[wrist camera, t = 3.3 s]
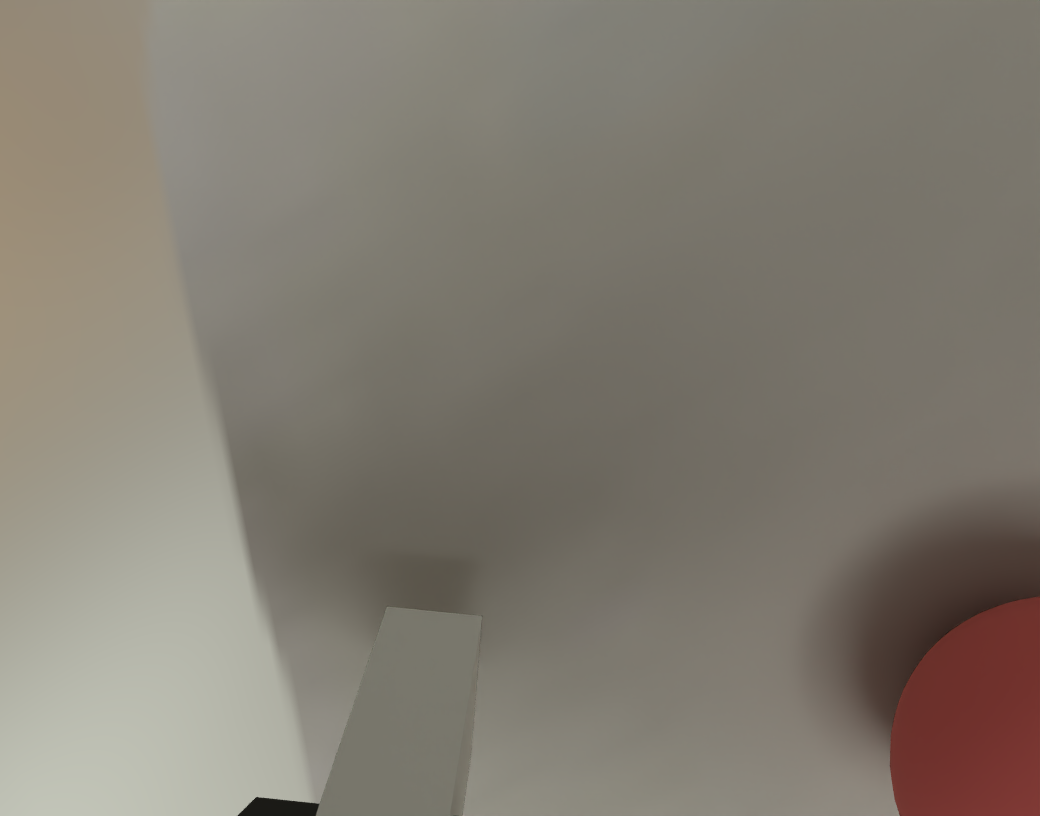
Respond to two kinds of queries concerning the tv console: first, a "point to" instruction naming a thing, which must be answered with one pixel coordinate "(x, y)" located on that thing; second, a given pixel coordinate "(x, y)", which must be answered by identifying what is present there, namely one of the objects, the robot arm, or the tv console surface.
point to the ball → (973, 720)
